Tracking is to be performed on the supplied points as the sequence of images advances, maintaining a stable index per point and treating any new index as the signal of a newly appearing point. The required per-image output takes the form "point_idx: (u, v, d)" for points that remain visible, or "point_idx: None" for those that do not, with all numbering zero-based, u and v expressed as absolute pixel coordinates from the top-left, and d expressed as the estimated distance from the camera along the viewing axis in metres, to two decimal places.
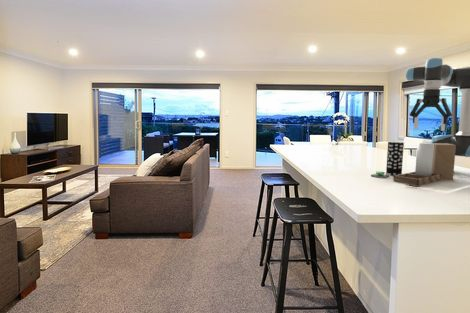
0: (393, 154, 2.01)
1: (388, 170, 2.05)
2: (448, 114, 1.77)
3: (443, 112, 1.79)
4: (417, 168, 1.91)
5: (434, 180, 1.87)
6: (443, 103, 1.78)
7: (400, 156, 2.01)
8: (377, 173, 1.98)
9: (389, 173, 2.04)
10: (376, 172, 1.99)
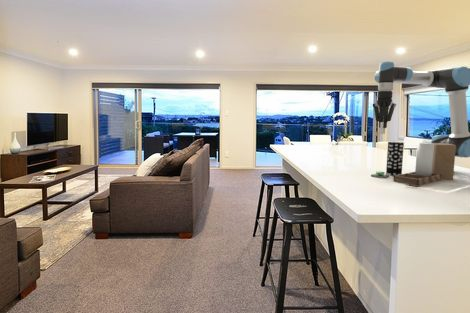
0: (393, 154, 2.01)
1: (388, 170, 2.05)
2: (387, 119, 1.92)
3: (385, 117, 1.93)
4: (417, 168, 1.91)
5: (434, 180, 1.87)
6: (390, 108, 1.90)
7: (400, 156, 2.01)
8: (377, 173, 1.98)
9: (389, 173, 2.04)
10: (376, 172, 1.99)
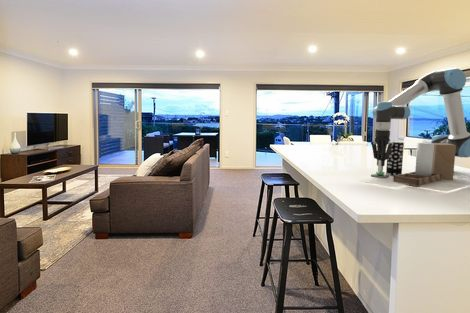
0: (393, 154, 2.01)
1: (388, 170, 2.05)
2: (385, 157, 1.95)
3: (383, 155, 1.96)
4: (417, 168, 1.91)
5: (434, 180, 1.87)
6: (388, 147, 1.93)
7: (400, 156, 2.01)
8: (377, 173, 1.98)
9: (389, 173, 2.04)
10: (376, 172, 1.99)
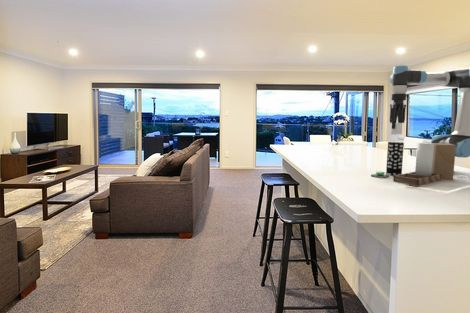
0: (393, 154, 2.01)
1: (388, 170, 2.05)
2: None
3: None
4: (417, 168, 1.91)
5: (434, 180, 1.87)
6: None
7: (400, 156, 2.01)
8: (377, 173, 1.98)
9: (389, 173, 2.04)
10: (376, 172, 1.99)
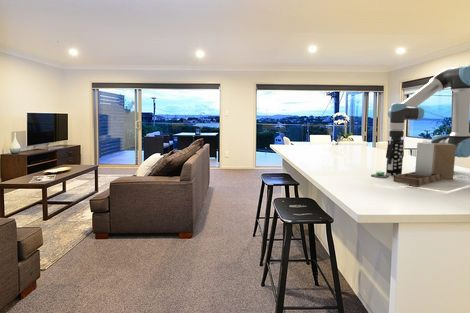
0: None
1: (388, 170, 2.05)
2: None
3: None
4: (417, 168, 1.91)
5: (434, 180, 1.87)
6: None
7: (400, 156, 2.01)
8: (377, 173, 1.98)
9: (389, 173, 2.04)
10: (376, 172, 1.99)
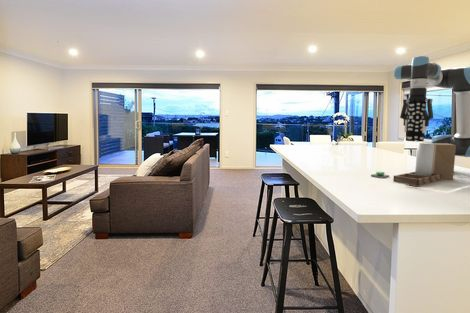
0: None
1: (421, 134, 1.78)
2: (429, 116, 1.74)
3: (426, 114, 1.76)
4: (417, 168, 1.91)
5: (434, 180, 1.87)
6: (428, 104, 1.75)
7: None
8: (377, 173, 1.98)
9: (422, 137, 1.79)
10: (376, 172, 1.99)
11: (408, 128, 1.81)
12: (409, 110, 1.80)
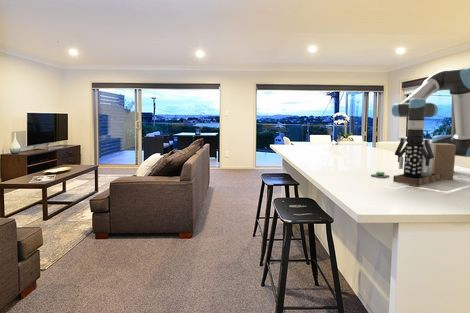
0: (422, 157, 1.81)
1: (418, 176, 1.81)
2: (430, 156, 1.75)
3: (425, 154, 1.78)
4: None
5: (434, 180, 1.87)
6: (426, 144, 1.77)
7: None
8: (377, 173, 1.98)
9: None
10: (376, 172, 1.99)
11: (405, 170, 1.83)
12: (406, 152, 1.83)
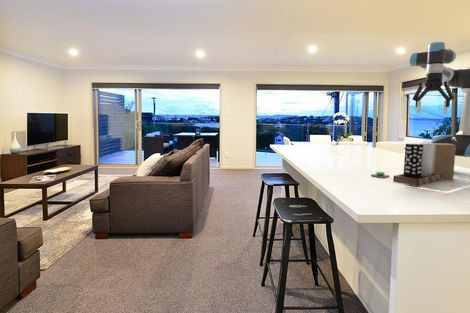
0: (422, 157, 1.81)
1: (418, 176, 1.81)
2: (450, 97, 1.79)
3: (445, 95, 1.81)
4: None
5: (434, 180, 1.87)
6: (445, 86, 1.81)
7: None
8: (377, 173, 1.98)
9: None
10: (376, 172, 1.99)
11: (405, 170, 1.83)
12: (406, 153, 1.83)
